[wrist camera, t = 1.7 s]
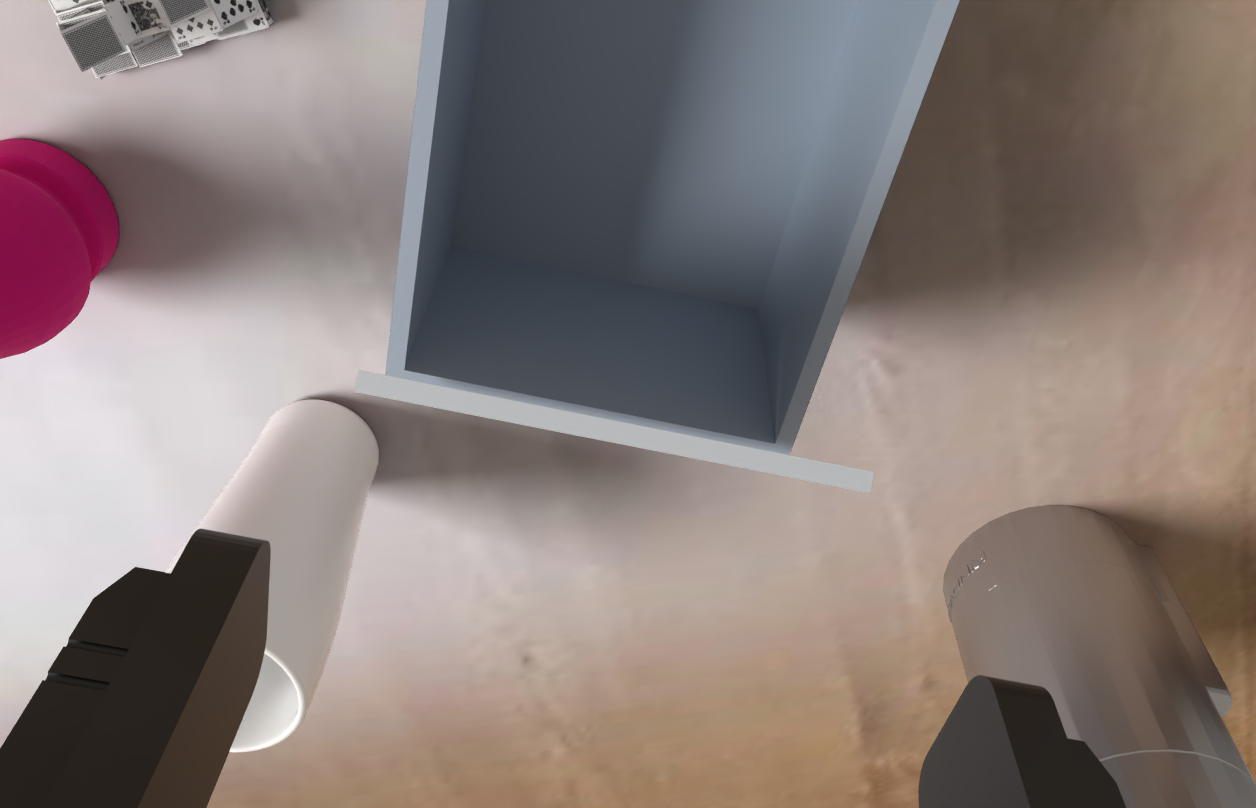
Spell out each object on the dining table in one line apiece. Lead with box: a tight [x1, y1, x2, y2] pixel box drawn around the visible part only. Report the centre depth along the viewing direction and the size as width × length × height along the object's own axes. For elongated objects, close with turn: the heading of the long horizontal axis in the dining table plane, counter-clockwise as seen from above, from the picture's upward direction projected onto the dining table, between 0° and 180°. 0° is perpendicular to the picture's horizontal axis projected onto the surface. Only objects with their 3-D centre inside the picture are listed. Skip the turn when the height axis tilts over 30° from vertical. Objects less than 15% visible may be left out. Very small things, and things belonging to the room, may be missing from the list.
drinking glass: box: [165, 399, 379, 752], centre depth 45 cm, size 7×7×15 cm
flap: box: [354, 370, 874, 493], centre depth 31 cm, size 12×12×1 cm
